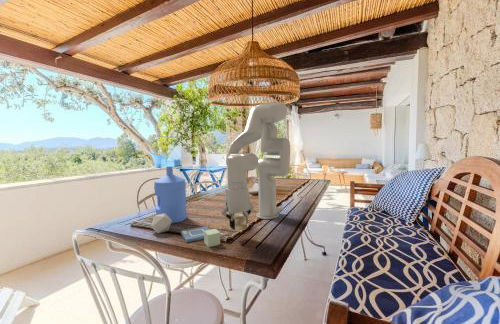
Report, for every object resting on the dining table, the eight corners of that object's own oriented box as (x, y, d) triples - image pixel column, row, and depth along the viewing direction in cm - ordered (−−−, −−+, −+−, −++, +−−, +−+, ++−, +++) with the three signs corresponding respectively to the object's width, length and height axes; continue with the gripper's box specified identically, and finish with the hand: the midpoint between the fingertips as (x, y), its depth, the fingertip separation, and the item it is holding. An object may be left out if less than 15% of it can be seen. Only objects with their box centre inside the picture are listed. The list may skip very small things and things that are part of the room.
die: (168, 227, 119) (154, 213, 117) (178, 221, 115) (165, 206, 113) (158, 239, 112) (143, 224, 110) (168, 233, 108) (153, 218, 106)
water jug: (191, 215, 136) (189, 165, 134) (180, 225, 121) (178, 168, 118) (164, 214, 138) (161, 165, 135) (150, 224, 122) (147, 168, 120)
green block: (215, 240, 102) (215, 228, 102) (220, 244, 98) (219, 232, 98) (204, 242, 100) (204, 230, 100) (208, 247, 96) (207, 235, 95)
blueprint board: (206, 228, 115) (206, 226, 115) (214, 236, 106) (214, 233, 106) (180, 233, 110) (180, 230, 110) (186, 242, 100) (186, 239, 100)
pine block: (241, 224, 107) (241, 213, 106) (246, 228, 103) (246, 217, 102) (231, 227, 105) (230, 216, 104) (235, 231, 100) (235, 219, 100)
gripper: (251, 181, 109) (252, 220, 111) (214, 186, 101) (216, 228, 103) (259, 184, 102) (260, 225, 104) (221, 189, 94) (223, 234, 97)
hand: (238, 226), depth 104 cm, fingers closed on pine block, 4 cm apart
